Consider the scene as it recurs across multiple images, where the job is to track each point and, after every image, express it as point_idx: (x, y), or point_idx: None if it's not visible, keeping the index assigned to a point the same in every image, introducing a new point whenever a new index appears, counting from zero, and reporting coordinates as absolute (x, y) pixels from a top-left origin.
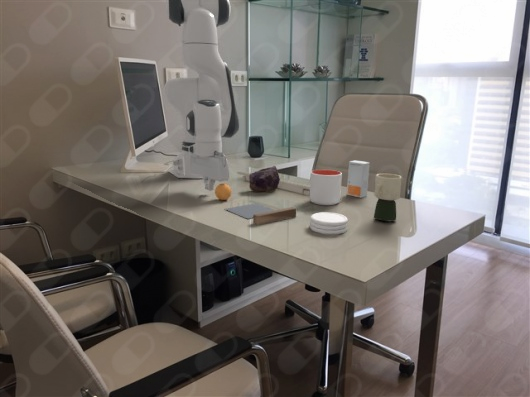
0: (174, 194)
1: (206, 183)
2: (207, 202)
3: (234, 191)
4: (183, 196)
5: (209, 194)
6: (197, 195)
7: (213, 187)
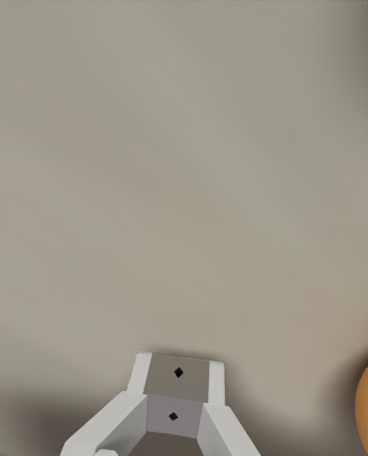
0: (43, 447)
1: (140, 432)
2: (355, 447)
3: (249, 52)
4: None
5: (178, 326)
6: None
7: (224, 381)
